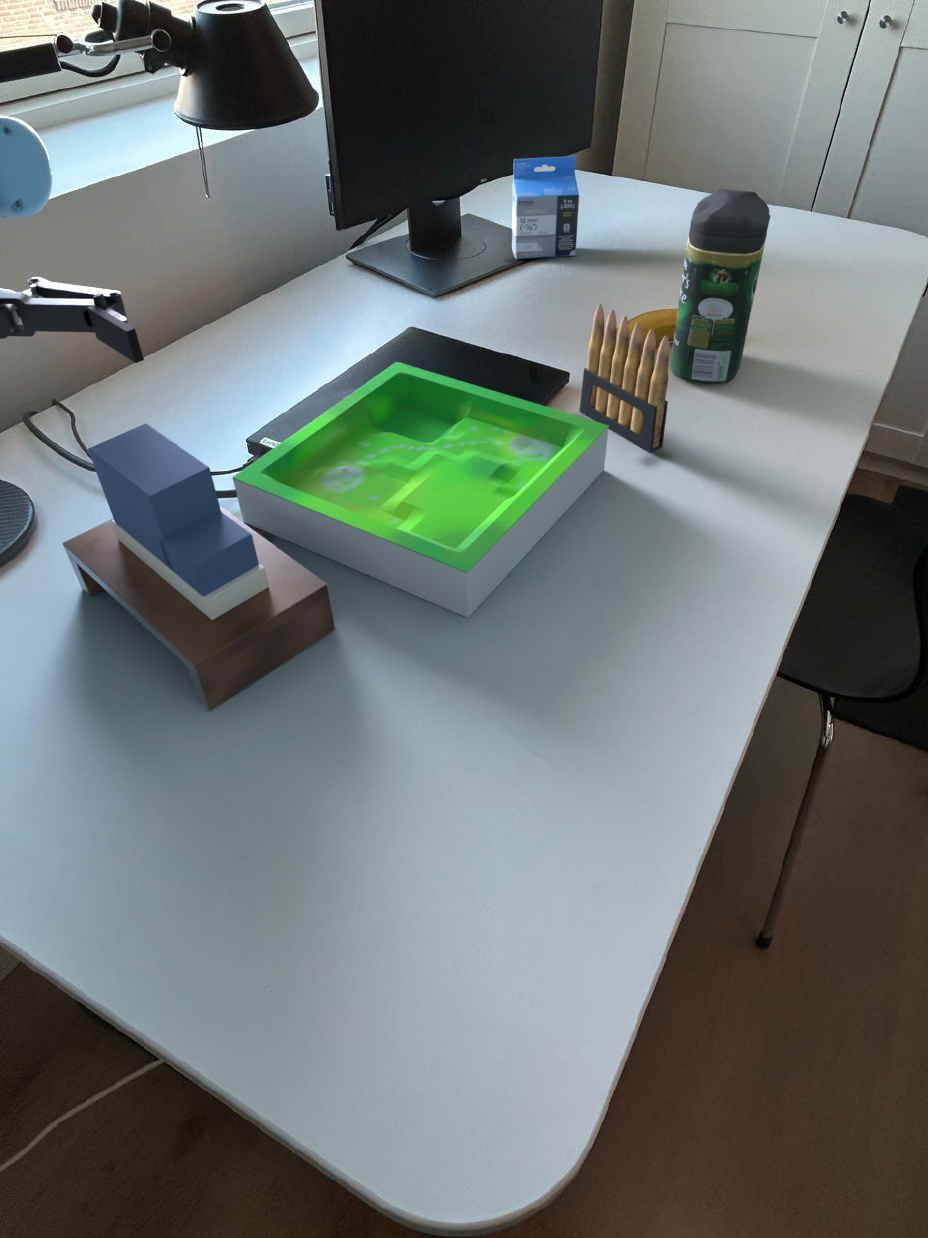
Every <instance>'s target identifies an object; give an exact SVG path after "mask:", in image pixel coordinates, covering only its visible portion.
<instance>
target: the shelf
mask: <svg viewBox="0 0 928 1238" xmlns="http://www.w3.org/2000/svg"><path fill="white" fill-rule="evenodd" d="M220 509H221V512H222V513H224V514H225V515H226V516H228V517H229V518H230V519H232V520H233V521H234V522H236V523H237V524H239V525H240V526H241V527H243V528H244V529H245V530H247V531H248V532H249V533H251V534H252V537H253V541H254V546H255V550H256V554H257V558H258V562H259V564H260V565H262V566H263V567H264V568H265V573H266V577H267V581H268V585H269V587H268V588H266V589H265V590H263V591H261V592H260V593H258V594H256V595H254V596H253V597H251V598H249V599H248V600H246V601H244V602H243V603H241V604H239V605H237V606H236V607H234V608H232V609H231V610H229V611H227V612H226V613H224V614H222V615H221V616H219V617H217V618H215V619H214V620H211V619H210V618H209V617H208V616H206V615H205V614H204V613H203V612H202V611H201V610H199V609H198V608H197V607H196V606H195V605H194V604H192V603H191V602H190V601H189V600H188V599H187V598H185V597H184V596H183V595H182V594H181V593H180V592H178V591H177V590H176V589H175V588H174V587H173V586H171V585H170V584H169V583H168V582H167V581H166V580H164V579H163V578H162V577H161V576H160V575H159V574H158V573H156V572H155V571H154V570H153V569H152V568H151V567H149V566H148V565H147V564H146V563H145V562H144V561H142V560H141V559H140V558H139V557H138V556H137V555H135V554H134V553H133V552H132V551H131V550H130V549H128V548H127V547H126V546H125V545H124V544H123V543H121V542H120V541H119V540H118V538H117V536H116V533H115V530H114V528H113V525H112V522H111V520H113V519H114V518H113V517H112V518H111V519H108V520H107V521H105V522H103V523H101V524H98V525H96V526H94V527H93V528H90V529H89V530H86V531H84V532H82V533H80V534H78V535H76V536H74V537H72V538H70V539H68V540H66V541H64V542H62V546H63V548H64V551H65V554H66V555H67V557H68V560H69V562H70V564H71V566H72V569H73V571H74V573H75V576H76V578H77V580H78V582H79V583H78V584H79V586H80V587H81V589H82V590H83V591H84V592H85V593H86V594H87V595H88V596H89V597H92V596H94V595H96V594H98V593H100V592H102V591H103V590H105V591H106V592H107V593H108V594H109V595H110V596H111V597H112V598H113V599H114V600H115V601H116V602H117V603H119V604H120V605H121V606H122V607H123V608H124V609H125V610H126V611H127V612H128V613H129V614H130V615H132V616H133V618H135V620H137V622H139V623H140V624H141V625H142V626H143V627H144V628H146V630H148V631H149V632H150V633H151V634H152V635H153V636H154V637H155V638H156V639H157V640H158V641H160V642H161V644H162V645H164V646H165V647H166V648H167V649H168V650H169V651H170V652H171V653H172V654H174V656H175V657H177V658H178V659H179V660H180V661H181V662H182V663H183V664H184V665H185V667H186V669H187V671H188V675H189V677H190V680H191V682H192V685H193V689H194V691H195V694H196V697H197V699H198V701H199V702H200V703H201V705H203V706H204V707H205V708H206V709H207V710H208V711H210V712H211V711H213V710H215V709H216V708H218V707H219V706H220V705H222V704H224V703H225V702H227V701H228V700H230V699H231V698H233V697H234V696H236V695H237V694H239V693H241V692H242V691H244V690H245V689H247V688H249V687H250V686H251V685H253V684H255V683H256V682H257V681H259V680H261V679H262V678H263V677H265V676H267V675H268V674H269V673H271V672H273V671H275V670H276V669H277V668H279V667H280V666H283V664H286V663H287V662H288V661H290V660H291V659H293V658H295V657H296V656H297V655H299V654H300V653H302V652H303V651H305V650H307V649H308V648H310V647H312V646H313V645H315V644H317V642H319V641H321V640H322V639H324V638H325V637H326V636H328V635H330V634H331V633H332V632H334V631H336V625H335V619H334V614H333V608H332V603H331V596H330V592H329V585H328V583H327V582H325V581H324V580H323V579H322V578H320V577H319V576H317V575H316V574H314V573H313V572H312V571H310V570H309V569H308V568H307V567H305V566H303V565H302V564H301V563H299V562H298V561H297V560H295V559H294V558H293V557H291V556H290V555H288V554H287V553H286V552H284V551H283V550H282V549H280V548H279V547H277V546H276V545H275V544H274V543H272V542H271V541H270V540H268V539H266V538H265V537H264V536H263V535H261V534H260V533H258V532H257V531H256V530H254V529H253V528H251V527H250V525H249V526H248V524H247V523H245V522H243V520H241V519H239V518H238V517H236V516H235V515H234V514H232V513H231V512H230V511H228V510H227V509H225V508H224V507H223V506H221V505H220Z"/></svg>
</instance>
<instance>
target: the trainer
mask: <svg viewBox="0 0 928 1238" xmlns="http://www.w3.org/2000/svg"><path fill="white" fill-rule="evenodd" d="M87 451H88V454H89V456H90V460H91V462H92V464H93V468H94V470H95V473H96V475H97V478H98V481H99V483H100V486H101V488H102V491H103V494H104V496H105V500H106V502H107V505H108V507H109V510H110V513H111V516H112V519H113V518H114V519H113V520H111V519H110V520H111V522H112V525H113V528H114V530H115V533H116V536H117V538H118V540H119V541H120V542H121V543H123V544H124V545H125V546H126V547H127V548H128V549H130V550H131V551H132V552H133V553H134V554H135V555H137V556H138V557H139V558H140V559H141V560H142V561H144V562H145V563H146V564H147V565H148V566H149V567H151V568H152V569H153V570H154V571H155V572H156V573H158V574H159V575H160V576H161V577H162V578H163V579H164V580H166V581H167V582H168V583H169V584H170V585H171V586H173V587H174V588H175V589H176V590H177V591H178V592H180V593H181V594H182V595H183V596H184V597H185V598H187V599H188V600H189V601H190V602H191V603H192V604H194V605H195V606H196V607H197V608H198V609H199V610H201V611H202V612H203V613H204V614H205V615H206V616H208V617H209V618H210V619H211V620H214V619H215V618H217V617H219V616H221V615H222V614H224V613H226V612H227V611H229V610H231V609H232V608H234V607H236V606H237V605H239V604H241V603H243V602H244V601H246V600H248V599H249V598H251V597H253V596H254V595H256V594H258V593H260V592H261V591H263V590H265V589H266V588H268V587H269V585H268V581H267V577H266V573H265V568H264V567H263V566H262V565H260V564H259V562H258V558H257V554H256V550H255V546H254V541H253V537H252V534H251V533H249V532H248V531H247V530H245V529H244V528H243V527H241V526H240V525H239V524H237V523H236V522H234V521H233V520H232V519H230V518H229V517H228V516H226V515H225V514H224V513H222V512H221V509H220V506H221V505H220V502H219V498H218V495H217V490H216V486H215V484H214V480H213V475H212V472H211V468H210V466H208V465H206V463H204V462H202V461H201V460H200V459H198V458H197V457H195V456H193V454H191V453H189V451H186V450H185V449H184V448H182V447H181V446H179V445H178V444H176V443H175V442H174V441H172V440H171V439H169V438H168V437H167V436H165V435H163V434H162V433H161V432H159V430H156V429H155V428H153V426H151V425H150V424H148V423H142V424H141V425H139V426H137V427H134V428H132V429H129V430H127V431H125V432H123V433H120V434H118V435H116V436H113V437H111V438H109V439H107V440H105V441H102V442H100V443H98V444H95V445H93V446H90V447H88V448H87Z"/></svg>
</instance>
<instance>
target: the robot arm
mask: <svg viewBox="0 0 928 1238" xmlns="http://www.w3.org/2000/svg"><path fill="white" fill-rule="evenodd" d="M52 186H53V176H52V168H51V160H50V156H49V153H48V151H47V148H46V146H45V144H44V142H43V141H42V138H41V137H40V135H38V133H37V132H36V131H35V130H34V129H33V128H32V127H31V126H30V125H29V124H27V123H26V122H25V121H23V120H21V119H19V118H16V117H10V116H6V115H5V116H4V115H0V218H5V219H6V218H10V217H19V218H20V217H23V218H25V217H32V216H34V215H36V214H38V213H39V212H41V211H42V210H43V208H44V207H46V205H47V203H48V202H49V199H50V196H51V192H52ZM27 284H28V287H29V288H28V289H26V290H23V291H14V290H11V289H5V288H1V287H0V340H5V339H7V338H8V337H21V338H22V337H24V338H25V337H29V338H30V337H33V336H35V335H36V334H37V333H38V332H46V333H47V332H49V333H50V332H51V333H94V334H95V338H96V339H97V340H98V341H100V342H102V343H103V344H105V345H106V346H108V347H110V348H111V349H113V350H114V351H116V352H117V353H118V354H120V355H122V356H123V357H125V358H126V359H128V360H130V361H132V362H133V363H134V364H138V363H141V362H142V361H145V358H144V355H143V351H142V348H141V345H140V341H139V338H138V334H137V331H136V328H135V327H133V326H131V325H130V324H129V323H128V322H129V316H128V312H127V309H126V306H125V301H124V300H123V296H122V293H121V291H119V290H114V289H113V290H112V289H106V288H99V287H91V286H83V285H76V284H69V283H63V282H62V283H61V282H53V281H50V280H47V279H45V278H43V277H40V276H33V277H30V278H28V279H27ZM20 322H21V324H19V323H20Z"/></svg>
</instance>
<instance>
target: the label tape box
mask: <svg viewBox="0 0 928 1238" xmlns="http://www.w3.org/2000/svg"><path fill="white" fill-rule="evenodd" d="M576 162H577V156H576V155H571V156H569V155H568V156H552V157H551V156H550V157H533V158H514V159H513V178H512V185H511V186H512V188H511V189H512V191H511V192H512V193H511V194H512V195H511V197H512V201H511V202H512V203H511V204H512V205H511V206H512V207H511V212H512V213H511V215H512V216H511V217H512V218H511V221H512V222H511V249H512V251H511V252H512V254H513V256H514V258H515V260H522V259H537V258H555V257H570V256H571V257H572V256H576V253H577V238H578V223H579V222H578V221H579V209H580V207H579V205H580V194H579V188H578V187H579V186H578V181H577V177H576V164H577V163H576ZM544 165H546V166H547V167H548V168H549V167H554V170H545V171H543V170H541V171H536V170H535V169H536V168H542V167H543V166H544Z"/></svg>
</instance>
